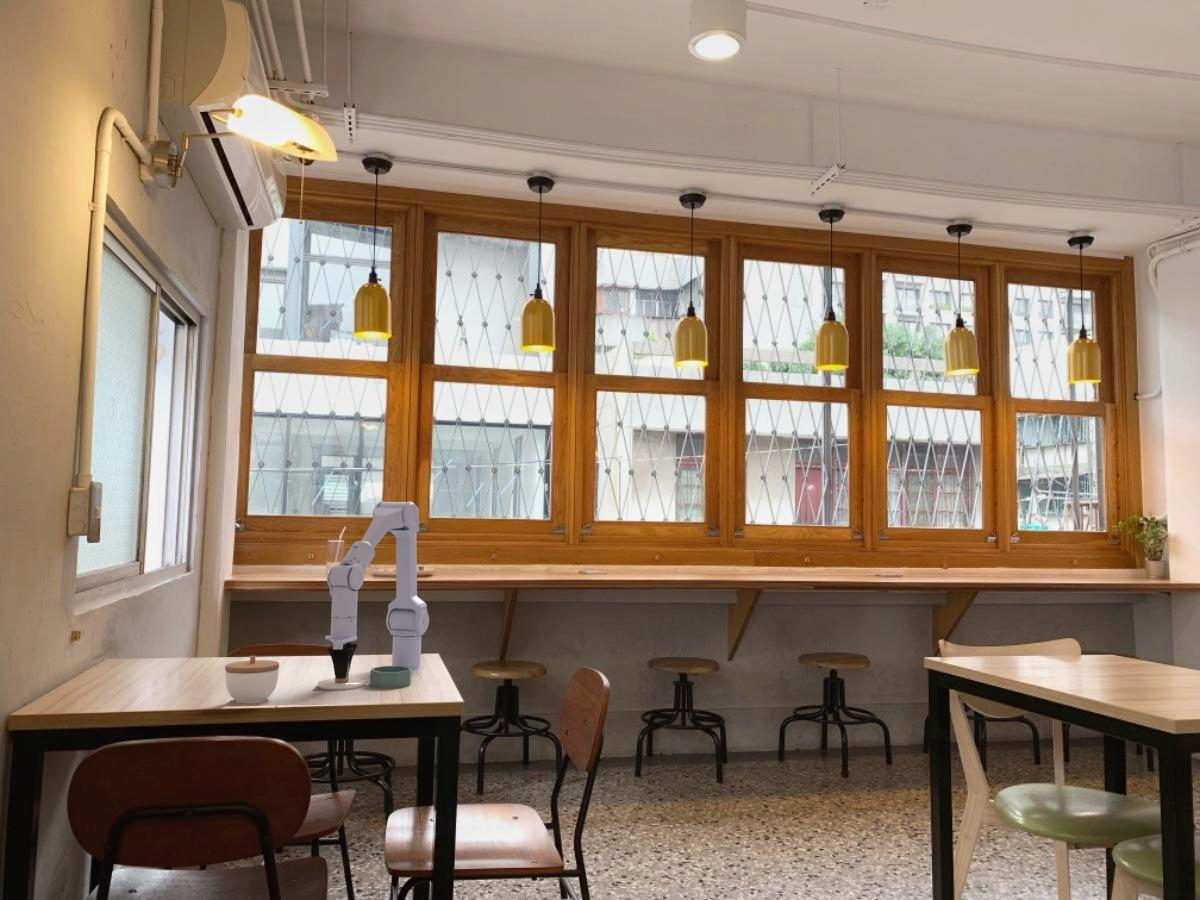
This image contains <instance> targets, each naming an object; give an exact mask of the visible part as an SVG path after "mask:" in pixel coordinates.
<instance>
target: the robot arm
mask: <svg viewBox="0 0 1200 900" xmlns="http://www.w3.org/2000/svg"><path fill="white" fill-rule="evenodd" d="M388 532H390V533H391V534H392V535H394V537H395V566H396V567H395V573H396V575H395V579H396V580H395V581H396V584H395V585H396V587H395V588H396V589H395V590H396V591H395V592H396V593H395V595H396V598H395V599H393V600H392V601H390V603H389V604H388V605H387V607H388V609H387V614H386V618H385V619H386V620H385V624H386V627H387V630H388V631H389V632H390V635H391V636H392V655H391V656H392V658H391V666H405V667H410V668H412V671H422V669H423V667H424V663H421V662H422V661H421V659H422V658H421V656H422V655H421V654H422V635H425V632H426V631H427V630H428V628H429V624H430V616H429V613H428V608H427V607H428V605H427V603H426V602H425V601H424V600H423V599H421V598H420V597H418V585H417V583H418V581H417V580H418V576H417V575H418V572H417V571H418V568H417V566H418V563H417V562H418V561H417V560H418V559H417V557H418V555H417V553H418V551H417V549H418V548H417V541H418V540H417V533H418V532H420V508H418V506H417V505H416V504H415V503H414V502H413V501H383V500H381V501H379V502H377V503H376V504H375V507H374V509H373V510H372V521H371V523H370V525H369V526H368V528H367V529H366V531H365V534H364V536H363V537H362V538H361V540H358V541H355V542H353V544H352V545H351V547H350V548H349V550H348V551H347V553H346V554H345V555H344V556H343V559H342V560H341V561H340V562H339V564H335V565H334V566H332V567H331V568H330V570H329V572H328V575H327V577H326V582H327V585H328V587H329V595H330V597H331V615H330V617H331V619H330V620H331V622H330V635H325V638H324V640H326V641H330V642H332V645H331V646H328V647H327V651H328V653H329V656H330V657H331V662H332V667H333V671H334V676H335V677H336V679H345V677H346V674H347V669H348V664H349V671H350V669H351V665H352V660H353V657H354V654H355V652H356V649H357V647H358V646H359V643H358V642H355V641H357V640H358V635H357V628H358V626H357V624H358V623H357V622H358V601H359V600H358V599H359V595H358V594H359V590H360V589H361V587H362V586H363V584H364V581H365V575H366V573H367V571H366V570H367V568H368V566H369V565H370V563H371V562H372V561H373V559H374V558H375V556H376V551H375V548H376V547H377V545H378V544H379V542H380V541H381V540H382V539H383V537H384V536H385V535H386V534H387V533H388ZM335 677H334V678H335Z"/></svg>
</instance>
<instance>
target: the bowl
mask: <svg viewBox="0 0 1200 900" xmlns="http://www.w3.org/2000/svg"><path fill="white" fill-rule="evenodd" d="M369 674H370V675H369V676H370V677H369V687H371V688H372V687H373V688H378V689H396V688H403V687H409V686H411V684H412V681H413V678H412V677H413V670H412V668H410V667H405V666H392V665H382V666H377V667H372V668H371V669H370V673H369Z"/></svg>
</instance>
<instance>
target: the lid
mask: <svg viewBox="0 0 1200 900" xmlns="http://www.w3.org/2000/svg"><path fill="white" fill-rule="evenodd" d="M365 681H366V680H364V679H360V678H354V677H351V678H350V670H349V664H348V669H347V674H346V677H345V679H336V677H334V678H330V679H329V678H327V679H323V680H320V681H318V682H317V685H318V688H320V689H325V690H340V691H349V690H356V689H361V688H363V687H365V686H366V683H365Z"/></svg>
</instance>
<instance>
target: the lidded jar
mask: <svg viewBox="0 0 1200 900" xmlns="http://www.w3.org/2000/svg"><path fill="white" fill-rule="evenodd" d="M224 667H225V668H224V671H225V686H226V689H227V692H228V694H229V696H230V697H231V698H232V699H233V700H235V702H236V703H237V704H256V703H262V702H265V701H267V700H268V698H270V697H271V695H273V693H275V690H276V688H277V685H278V679H279V673H280V672H279V671H280V670H279V668H280V662H278V661H276V660H270V659H269V660H266V659H265V660H264V659H261V660H260V659H257V660H256V655H250V656H249V660H242V661H235V662H234V661H233V662H231V663H227V664H226V665H225V666H224Z"/></svg>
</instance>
